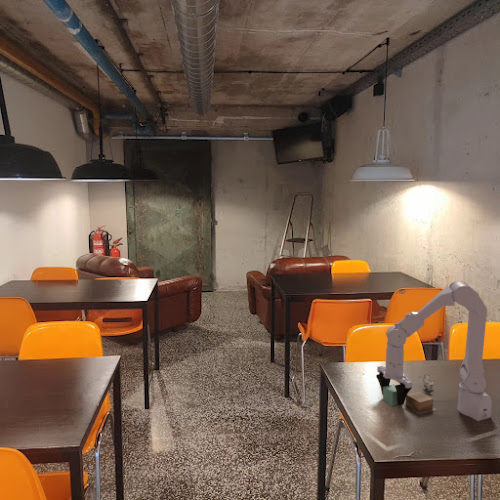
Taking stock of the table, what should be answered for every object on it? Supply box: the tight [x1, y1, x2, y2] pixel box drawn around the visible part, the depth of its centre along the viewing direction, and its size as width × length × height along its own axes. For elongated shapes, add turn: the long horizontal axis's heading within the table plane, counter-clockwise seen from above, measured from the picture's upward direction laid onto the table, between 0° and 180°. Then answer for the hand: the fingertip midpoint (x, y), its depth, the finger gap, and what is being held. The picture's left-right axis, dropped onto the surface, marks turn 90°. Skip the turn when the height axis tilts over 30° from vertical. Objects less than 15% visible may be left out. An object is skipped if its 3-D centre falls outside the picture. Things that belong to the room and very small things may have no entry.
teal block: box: [382, 384, 399, 407], centre depth 146 cm, size 5×5×5 cm
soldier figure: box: [422, 371, 435, 392], centre depth 159 cm, size 8×5×12 cm
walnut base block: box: [405, 391, 434, 412], centre depth 143 cm, size 6×6×4 cm
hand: (392, 399), depth 147 cm, fingers open, 7 cm apart
